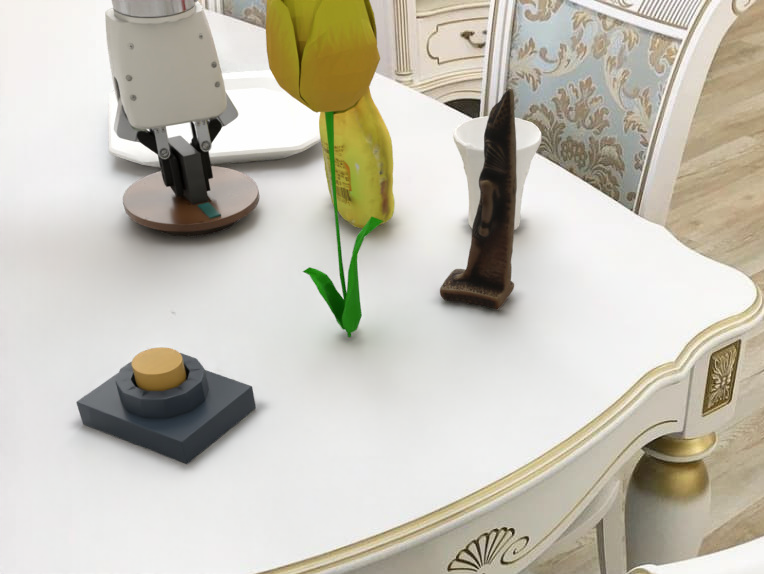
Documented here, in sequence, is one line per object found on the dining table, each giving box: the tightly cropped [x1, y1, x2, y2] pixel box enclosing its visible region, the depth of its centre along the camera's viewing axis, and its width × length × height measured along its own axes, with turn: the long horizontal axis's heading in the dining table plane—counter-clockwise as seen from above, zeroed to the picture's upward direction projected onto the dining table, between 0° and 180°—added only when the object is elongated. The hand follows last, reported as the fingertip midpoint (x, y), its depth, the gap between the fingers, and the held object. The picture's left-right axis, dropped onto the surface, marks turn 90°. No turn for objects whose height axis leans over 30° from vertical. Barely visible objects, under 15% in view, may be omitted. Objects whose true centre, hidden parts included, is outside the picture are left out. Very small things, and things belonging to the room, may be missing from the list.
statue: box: [439, 88, 517, 310], centre depth 100 cm, size 4×7×20 cm, turn 71°
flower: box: [265, 0, 383, 338], centre depth 91 cm, size 9×8×30 cm
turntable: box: [122, 136, 260, 232], centre depth 115 cm, size 14×14×6 cm
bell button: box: [131, 346, 186, 391], centre depth 90 cm, size 4×4×2 cm
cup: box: [452, 115, 542, 231], centre depth 114 cm, size 9×9×10 cm
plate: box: [108, 69, 321, 169], centre depth 133 cm, size 25×25×2 cm
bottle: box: [319, 87, 395, 230], centre depth 112 cm, size 12×6×20 cm, turn 25°
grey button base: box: [76, 352, 257, 465], centre depth 91 cm, size 11×9×4 cm
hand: (189, 187), depth 116 cm, fingers closed on turntable, 2 cm apart
